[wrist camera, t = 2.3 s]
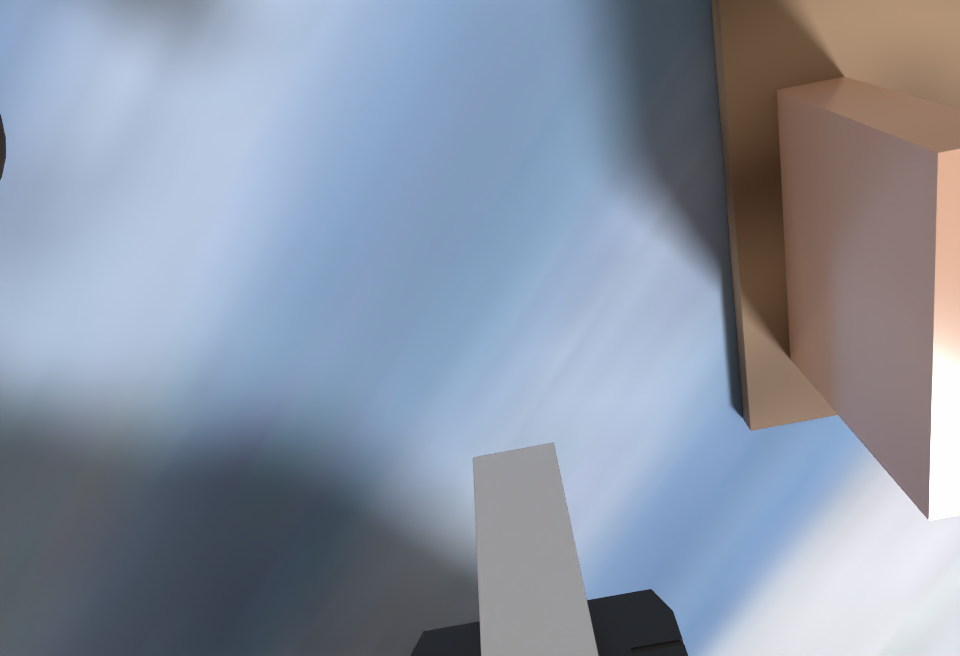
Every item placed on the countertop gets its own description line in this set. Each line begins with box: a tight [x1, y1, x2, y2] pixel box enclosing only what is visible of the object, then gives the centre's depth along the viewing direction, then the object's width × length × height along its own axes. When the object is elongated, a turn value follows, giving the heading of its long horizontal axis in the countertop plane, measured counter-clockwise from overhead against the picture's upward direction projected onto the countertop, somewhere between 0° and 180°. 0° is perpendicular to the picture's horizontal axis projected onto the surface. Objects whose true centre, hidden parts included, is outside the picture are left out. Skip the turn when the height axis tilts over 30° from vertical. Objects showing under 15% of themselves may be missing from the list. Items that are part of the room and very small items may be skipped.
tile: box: [777, 77, 960, 521], centre depth 23 cm, size 9×2×9 cm, turn 11°
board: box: [711, 0, 960, 431], centre depth 27 cm, size 16×14×1 cm
